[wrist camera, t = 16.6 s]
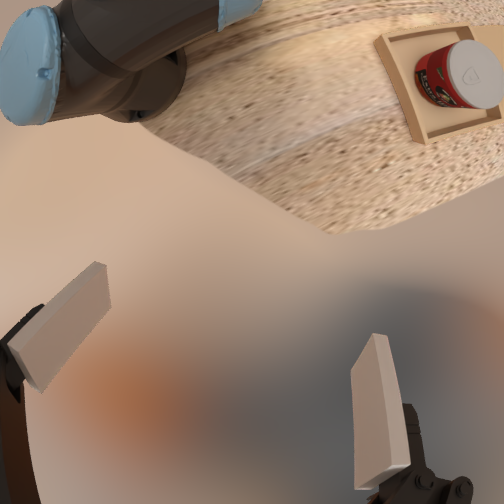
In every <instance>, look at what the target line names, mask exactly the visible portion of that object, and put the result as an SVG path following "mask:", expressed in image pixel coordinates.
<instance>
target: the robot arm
mask: <svg viewBox="0 0 504 504" xmlns="http://www.w3.org/2000/svg"><path fill="white" fill-rule="evenodd" d="M261 5H262V0H63V1H61V2H60V3H59V4H58V5H57V6H56V7H54V8H51V7H49V6H45V5H43V6H40V7H36V8H31V9H29V10H27V11H25V12H24V13H23V14H22V15H21V16H19V17H18V19H17V20H16V21H15V22H14V24H13V25H12V26H11V28H10V29H9V31H8V33H7V35H6V37H5V39H4V42H3V44H2V47H1V50H0V109H1V111H2V113H3V115H4V116H5V117H6V119H8V120H9V121H10V122H12V123H14V124H15V125H18V126H26V125H43V124H45V123H47V122H52V121H57V120H62V119H68V118H74V117H81V116H87V115H94V114H102V115H104V116H106V117H108V118H110V119H113V120H115V121H118V122H124V123H133V122H141V121H146V120H149V119H151V118H154V117H156V116H157V115H159V114H160V113H162V112H163V111H164V110H166V109H167V108H168V107H169V106H170V105H171V104H172V102H173V101H174V100H175V98H176V97H177V95H178V94H179V92H180V90H181V88H182V85H183V82H184V79H185V75H186V56H185V52H184V49H183V46H185V45H187V44H189V43H191V42H193V41H195V40H197V39H199V38H202V37H204V36H206V35H208V34H210V33H213V32H215V31H217V32H220V31H222V30H223V29H224V27H226V26H228V25H231V24H233V23H235V22H237V21H240V20H242V19H244V18H247V17H249V16H251V15H253V14H255V13H256V12H257V11H258V10H259V8H260V6H261ZM109 309H111V301H110V294H109V286H108V278H107V268H106V265H105V264H101V263H98V262H93V263H92V264H91V265H90V266H88V267H87V268H86V269H85V270H84V271H83V272H81V273H80V274H79V275H78V276H77V277H76V278H75V279H73V280H72V281H71V282H70V283H69V284H68V285H67V286H66V287H65V288H63V289H62V290H61V291H60V292H59V293H58V294H57V295H56V296H55V297H54V298H53V299H52V300H50V301H49V302H48V303H47V304H46V305H44V304H40V305H38V306H36V307H34V308H32V309H31V310H30V311H29V313H27V314H26V316H25V317H23V318H22V319H21V320H20V322H18V323H17V324H16V325H15V326H14V327H13V328H12V329H11V330H10V331H9V332H8V333H7V334H6V335H5V336H4V337H3V338H2V339H1V340H0V504H41V501H40V498H39V494H38V490H37V485H36V481H35V476H34V472H33V467H32V461H31V455H30V449H29V442H28V434H27V425H26V413H25V397H24V384H23V381H24V379H25V378H26V380H27V382H28V383H29V385H30V386H31V387H32V388H34V389H35V390H37V391H38V392H39V393H41V394H42V393H43V392H44V390H45V389H46V388H47V386H48V385H49V384H50V382H51V381H52V379H53V378H54V377H55V376H56V375H57V373H58V372H59V371H60V369H61V368H62V367H63V366H64V364H65V363H66V362H67V360H68V359H69V358H70V357H71V355H72V354H73V353H74V352H75V350H76V349H77V348H78V347H79V345H80V344H81V343H82V342H83V341H84V339H85V338H86V337H87V336H88V335H89V333H90V332H91V331H92V330H93V329H94V327H95V326H96V325H97V324H98V323H99V321H100V320H101V319H102V318H103V317H104V315H105V314H106V313H107V312H108V311H109ZM351 383H352V398H353V417H354V447H355V448H354V449H355V450H354V451H355V482H354V483H355V484H354V489H355V490H369V489H373V488H375V487H376V486H378V485H379V492H377V493H375V494H373V495H372V496H370V497H369V498H367V500H370V499H371V500H370V501H369V503H368V504H471V500H472V495H473V484H472V482H471V481H470V479H468V478H467V477H464V476H461V477H458V478H456V479H455V480H453V481H449V480H445V479H440V478H437V477H435V474H434V473H433V471H431V469H429V468H427V467H426V464H425V457H424V450H423V444H422V438H421V435H420V427H419V421H418V416H417V413H416V411H415V409H414V408H413V406H412V404H404V403H402V401H401V396H400V391H399V386H398V382H397V377H396V372H395V367H394V363H393V359H392V354H391V350H390V346H389V342H388V338H387V336H385V335H379V334H375V333H373V334H372V336H371V337H370V339H369V341H368V343H367V344H366V346H365V348H364V350H363V351H362V353H361V355H360V356H359V358H358V360H357V362H356V363H355V365H354V366H353V368H352V369H351Z"/></svg>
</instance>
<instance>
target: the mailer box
mask: <svg viewBox="0 0 504 504" xmlns="http://www.w3.org/2000/svg"><path fill="white" fill-rule="evenodd" d="M461 40H475V41H478V42H480V43H482V44H484V45H485V46H487V47H488V48H489V49H490V50H491V51H492V52H493V53H494V54H495V56H496V57H497V58H498V60H499V62H500V64H501V66H502V68H503V71H504V25H487V26H471V24H470V22H456V23H446V24H437V25H430V26H423V27H417V28H411V29H405V30H400V31H395V32H390V33H385V34H381V35H380V36H379V37H378V38H377V39H376V40H375V41H374V42H373V43H374V45H375V47H376V49H377V51H378V53H379V55H380V57H381V60H382V62H383V64H384V66H385V68H386V70H387V73H388V75H389V77H390V79H391V82H392V84H393V87H394V89H395V91H396V94H397V96H398V99H399V101H400V104H401V107H402V109H403V112H404V115H405V118H406V120H407V123H408V126H409V129H410V132H411V135H412V138H413V141H415V142H418V143H421V144H425V145H427V144H430V143H434V142H437V141H440V140H443V139H447V138H450V137H454V136H457V135H461V134H464V133H468V132H471V131H475V130H478V129H482V128H486V127H489V126H493V125H497V124H501V123H504V96H503V99H502V100H501V102H500V103H499V104H498V105H497V106H495V107H493V108H490V109H469V108H449V107H439V106H436V105H434V104H432V103H431V102H430V101H428V100H427V99H426V98H425V97H424V96H423V95H422V94H421V92H420V91H419V89H418V87H417V84H416V80H415V70H416V66H417V64H418V62H419V60H420V59H421V58H422V57H423V56H425V55H427V54H429V53H431V52H433V51H436V50H438V49H440V48H443V47H445V46H448V45H450V44H453V43H455V42H458V41H461Z"/></svg>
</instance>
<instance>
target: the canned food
mask: <svg viewBox="0 0 504 504" xmlns="http://www.w3.org/2000/svg"><path fill="white" fill-rule="evenodd" d="M415 80H416V84H417V87H418V89H419V91H420V92H421V94H422V95H423V96H424V97H425V98H426V99H427V100H428V101H430V102H431V103H432V104H434V105H436V106H439V107H449V108H469V109H490V108H493V107H495V106H497V105H498V104H499V103H500V102H501V100H502V99H503V96H504V71H503V68H502V66H501V64H500V62H499V60H498V58H497V57H496V56H495V54H494V53H493V52H492V51H491V50H490V49H489V48H488V47H487V46H485V45H484V44H482V43H480V42H478V41H475V40H461V41H458V42H455V43H453V44H450V45H448V46H445V47H443V48H440V49H438V50H436V51H433V52H431V53H429V54H427V55H425V56H423V57H422V58H421V59H420V60H419V62H418V64H417V66H416V70H415Z"/></svg>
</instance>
